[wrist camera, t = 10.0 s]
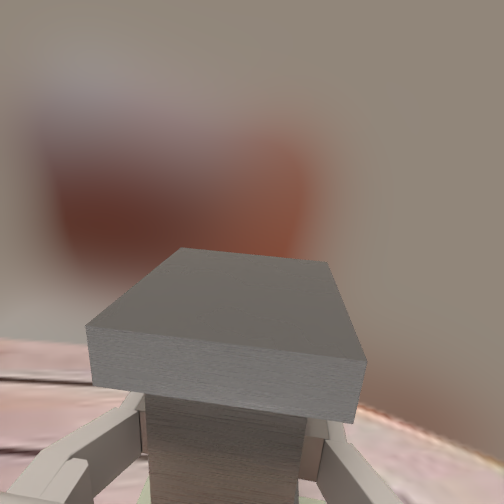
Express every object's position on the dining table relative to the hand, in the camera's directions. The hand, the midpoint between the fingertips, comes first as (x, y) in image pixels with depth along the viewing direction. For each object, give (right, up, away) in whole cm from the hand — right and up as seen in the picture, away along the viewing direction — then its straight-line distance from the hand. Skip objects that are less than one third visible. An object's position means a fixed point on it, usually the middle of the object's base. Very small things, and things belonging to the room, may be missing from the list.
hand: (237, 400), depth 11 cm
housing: (-1, -6, +1) cm, 6 cm away
